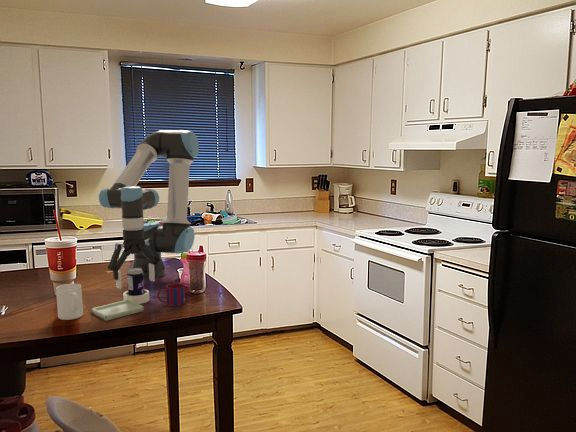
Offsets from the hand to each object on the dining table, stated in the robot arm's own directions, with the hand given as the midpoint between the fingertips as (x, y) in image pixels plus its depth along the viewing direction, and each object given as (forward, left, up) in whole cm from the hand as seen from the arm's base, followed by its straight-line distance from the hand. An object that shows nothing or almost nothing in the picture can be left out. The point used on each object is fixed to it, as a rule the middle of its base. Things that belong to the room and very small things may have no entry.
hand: (135, 284), depth 191 cm
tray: (+11, +7, -6) cm, 14 cm away
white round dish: (0, 0, -6) cm, 6 cm away
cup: (-7, +13, -7) cm, 16 cm away
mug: (+25, +2, -7) cm, 26 cm away
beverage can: (0, 0, -7) cm, 7 cm away
